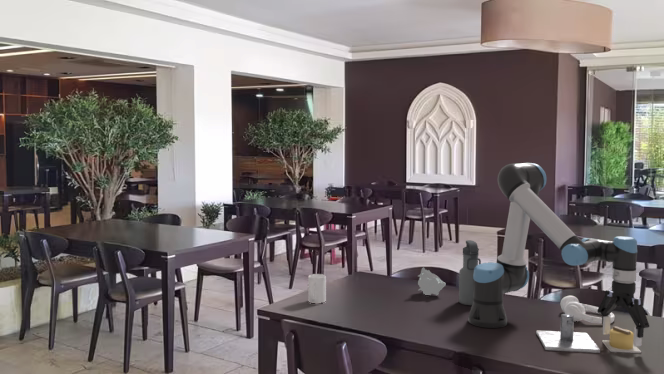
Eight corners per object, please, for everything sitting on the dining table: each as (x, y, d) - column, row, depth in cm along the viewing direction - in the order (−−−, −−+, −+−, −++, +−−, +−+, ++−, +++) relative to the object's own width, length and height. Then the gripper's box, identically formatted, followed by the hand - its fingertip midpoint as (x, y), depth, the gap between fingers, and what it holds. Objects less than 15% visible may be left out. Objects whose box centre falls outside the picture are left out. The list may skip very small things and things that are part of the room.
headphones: (566, 323, 237) (619, 331, 233) (568, 303, 236) (622, 311, 232) (557, 309, 256) (606, 316, 252) (560, 291, 255) (609, 298, 251)
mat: (610, 351, 205) (610, 349, 205) (602, 341, 215) (602, 340, 215) (641, 353, 204) (641, 351, 204) (631, 343, 214) (631, 341, 214)
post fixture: (545, 349, 207) (546, 322, 206) (536, 333, 225) (537, 307, 224) (599, 352, 204) (601, 324, 203) (586, 335, 222) (587, 309, 221)
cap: (604, 343, 212) (605, 327, 211) (620, 340, 214) (621, 324, 214) (621, 350, 205) (622, 333, 204) (638, 347, 207) (638, 331, 207)
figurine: (448, 293, 284) (424, 283, 292) (448, 269, 276) (423, 259, 284) (436, 305, 277) (412, 294, 285) (436, 281, 270) (411, 270, 278)
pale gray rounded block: (301, 305, 263) (301, 279, 262) (311, 298, 274) (311, 273, 273) (318, 307, 260) (318, 280, 259) (328, 300, 271) (328, 274, 270)
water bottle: (484, 305, 262) (485, 243, 260) (462, 306, 261) (463, 243, 259) (476, 299, 272) (478, 239, 270) (456, 300, 271) (457, 239, 269)
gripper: (588, 274, 218) (586, 330, 220) (646, 290, 195) (643, 352, 196) (604, 272, 221) (602, 328, 222) (662, 288, 197) (659, 350, 199)
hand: (621, 339), depth 209 cm, fingers open, 13 cm apart
